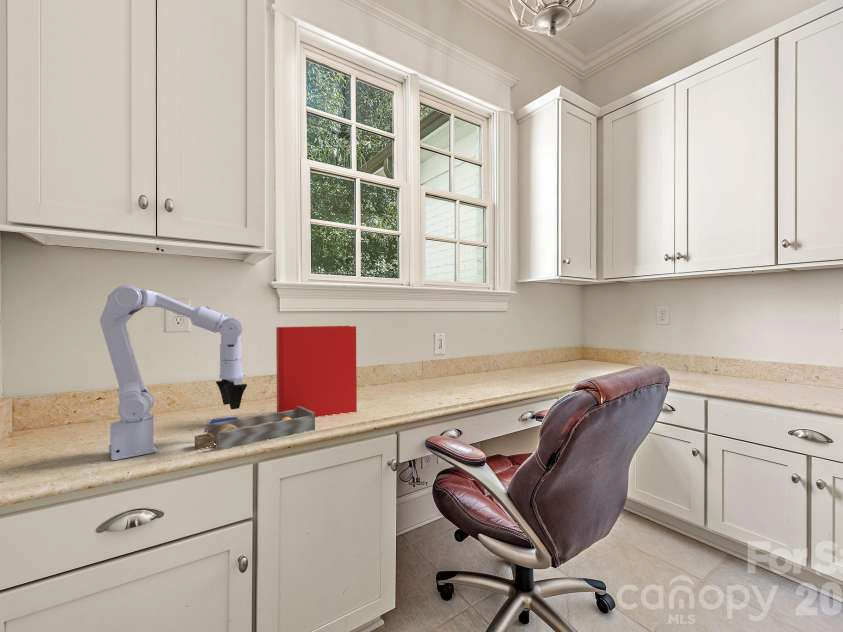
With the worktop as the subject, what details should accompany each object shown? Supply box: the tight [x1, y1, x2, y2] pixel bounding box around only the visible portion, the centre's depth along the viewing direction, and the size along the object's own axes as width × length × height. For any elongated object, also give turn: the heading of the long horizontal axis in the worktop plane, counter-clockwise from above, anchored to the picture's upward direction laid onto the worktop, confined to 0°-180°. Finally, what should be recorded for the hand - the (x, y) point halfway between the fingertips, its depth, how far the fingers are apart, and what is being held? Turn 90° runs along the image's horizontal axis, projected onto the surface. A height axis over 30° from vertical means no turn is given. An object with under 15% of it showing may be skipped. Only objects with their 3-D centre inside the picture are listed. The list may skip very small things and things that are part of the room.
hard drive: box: [205, 416, 239, 431], centre depth 129 cm, size 2×8×12 cm
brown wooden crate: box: [194, 433, 215, 450], centre depth 108 cm, size 4×4×3 cm
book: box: [275, 325, 358, 418], centre depth 143 cm, size 27×8×32 cm, turn 118°
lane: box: [206, 406, 316, 451], centre depth 119 cm, size 28×12×10 cm, turn 131°
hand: (231, 406), depth 114 cm, fingers open, 7 cm apart
